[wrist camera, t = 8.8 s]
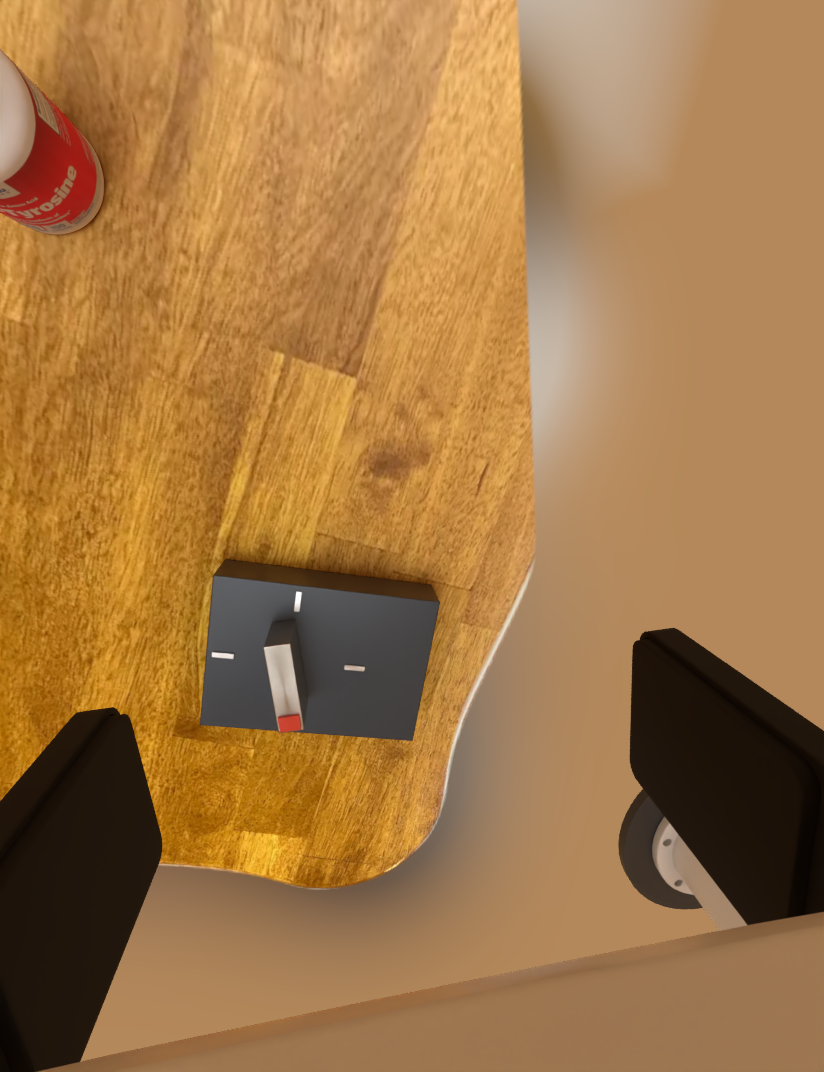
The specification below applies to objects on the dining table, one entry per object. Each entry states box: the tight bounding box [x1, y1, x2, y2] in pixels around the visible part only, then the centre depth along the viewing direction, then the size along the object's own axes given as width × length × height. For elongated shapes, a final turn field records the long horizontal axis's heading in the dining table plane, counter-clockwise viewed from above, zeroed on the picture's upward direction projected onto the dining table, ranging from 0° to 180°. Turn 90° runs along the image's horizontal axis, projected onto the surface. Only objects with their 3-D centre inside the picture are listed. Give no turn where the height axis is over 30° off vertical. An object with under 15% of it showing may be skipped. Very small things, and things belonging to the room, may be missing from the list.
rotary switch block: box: [200, 559, 440, 741], centre depth 38 cm, size 15×11×4 cm
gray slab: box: [264, 620, 308, 733], centre depth 34 cm, size 6×2×4 cm, turn 5°
